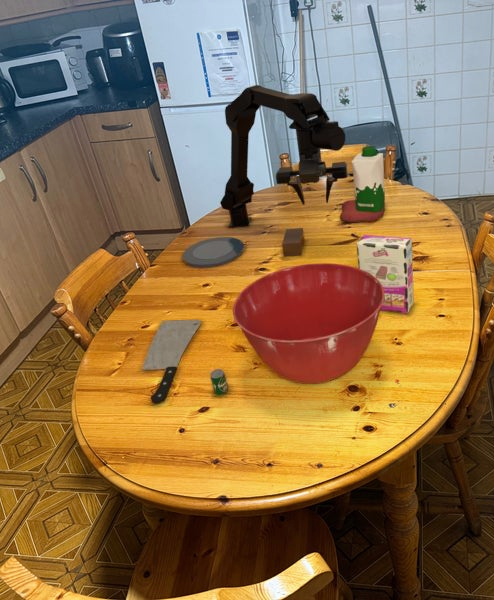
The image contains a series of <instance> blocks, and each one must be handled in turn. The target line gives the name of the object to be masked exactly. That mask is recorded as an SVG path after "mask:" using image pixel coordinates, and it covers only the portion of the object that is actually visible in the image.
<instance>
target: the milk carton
mask: <svg viewBox="0 0 494 600" xmlns="http://www.w3.org/2000/svg"><path fill="white" fill-rule="evenodd" d="M376 148H377V147H376V146H374V145H367V146H364V147H362V148H361V152H359V153H357V155H356V156H355V157H353V159H352V160H351V167H352V177H353V189H354V200H355V203H356V210H357V211H362V212H374V213H377V212H380V211H381V210H382V209H383V208H384V209H385V204H386V202H385V201H386V195H385V193H386V192H385V171H384V169H385V168H384V153H383V152H377V149H376Z"/></svg>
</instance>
